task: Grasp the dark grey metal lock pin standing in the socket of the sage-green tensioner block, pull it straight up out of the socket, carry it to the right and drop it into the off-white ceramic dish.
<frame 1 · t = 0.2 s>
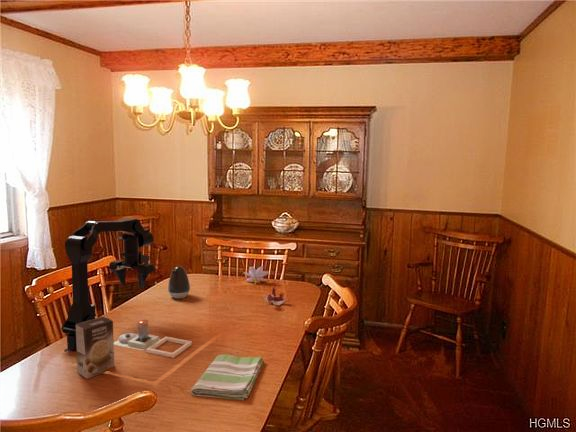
hand: (132, 287, 173), 14 cm above the table, fingers open, 9 cm apart
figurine: (274, 304, 197), on the table
coffee box: (96, 371, 135), on the table
dark grey egg shape: (179, 297, 205), on the table
tensioner block: (137, 344, 154), on the table
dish: (169, 350, 149), on the table
water lily: (257, 283, 229), on the table
dish towel: (229, 379, 132), on the table
lock pin: (143, 342, 153), point 1 cm above the table, touching tensioner block
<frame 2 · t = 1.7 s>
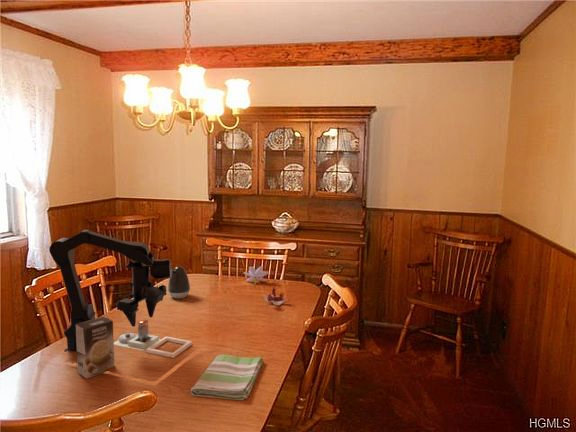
hand: (142, 321, 152), 9 cm above the table, fingers open, 9 cm apart
nothing on the table moved.
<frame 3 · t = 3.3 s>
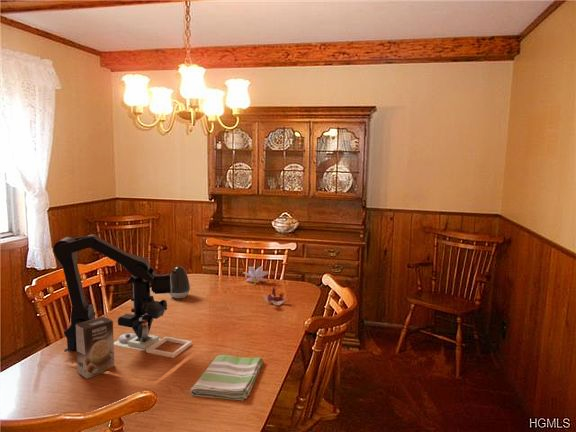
hand: (143, 336, 153), 4 cm above the table, fingers closed on lock pin, 3 cm apart
lock pin: (143, 342, 153), point 1 cm above the table, touching gripper, tensioner block
everything else where it was.
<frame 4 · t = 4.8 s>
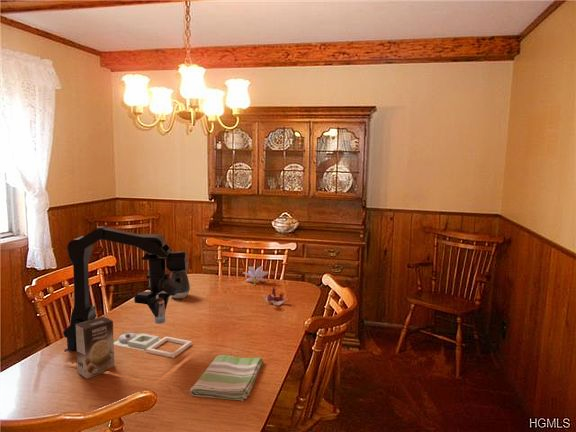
hand: (159, 314, 149), 12 cm above the table, fingers closed on lock pin, 3 cm apart
lock pin: (160, 321, 149), point 10 cm above the table, touching gripper
everything else where it was.
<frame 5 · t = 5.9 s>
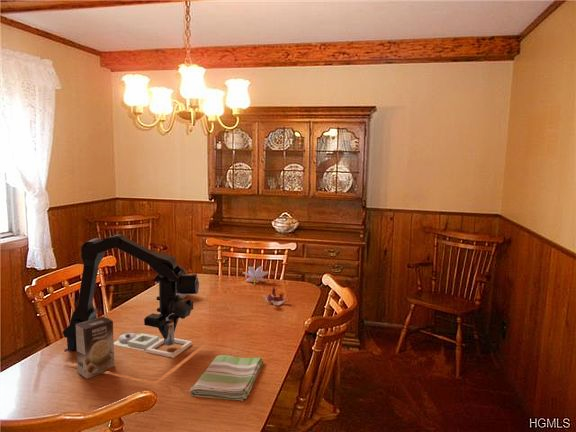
hand: (168, 336, 148), 5 cm above the table, fingers closed on lock pin, 3 cm apart
lock pin: (169, 343, 149), point 3 cm above the table, touching gripper
everything else where it was.
when the fingers open (4 cm above the table, at t = 6.7 s): lock pin drops 1 cm, resting on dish.
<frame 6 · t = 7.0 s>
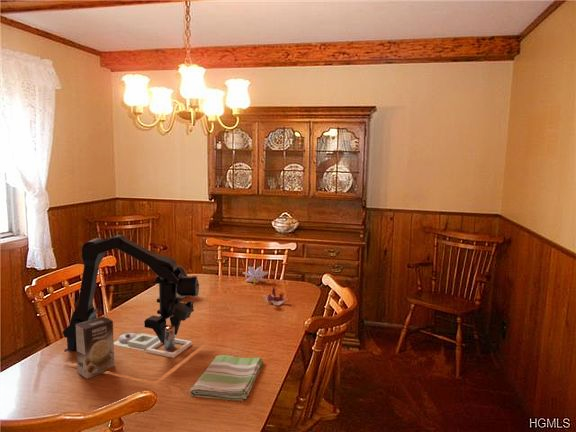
hand: (169, 338, 149), 4 cm above the table, fingers open, 7 cm apart
lock pin: (169, 349, 149), point 1 cm above the table, touching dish
everything else where it was.
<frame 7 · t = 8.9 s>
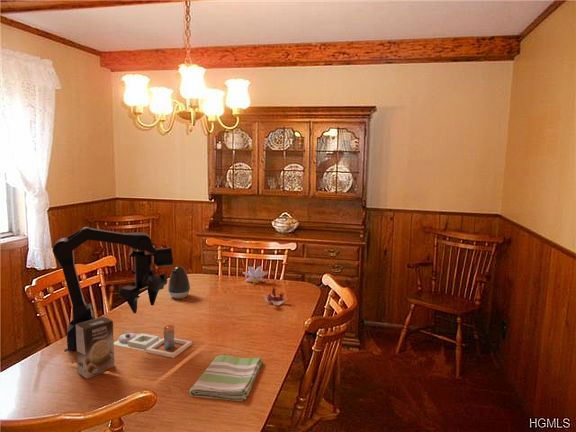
hand: (143, 309, 157), 12 cm above the table, fingers open, 9 cm apart
nothing on the table moved.
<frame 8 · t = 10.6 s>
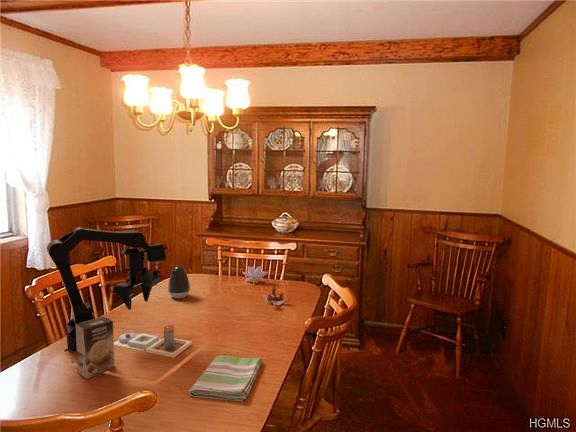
hand: (138, 305, 159), 12 cm above the table, fingers open, 9 cm apart
nothing on the table moved.
at the end: lock pin inside the target area on the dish (0.0 cm from its centre), point 0.6 cm above the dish's base; the gripper is holding nothing; lock pin moved 11.0 cm from its start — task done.
